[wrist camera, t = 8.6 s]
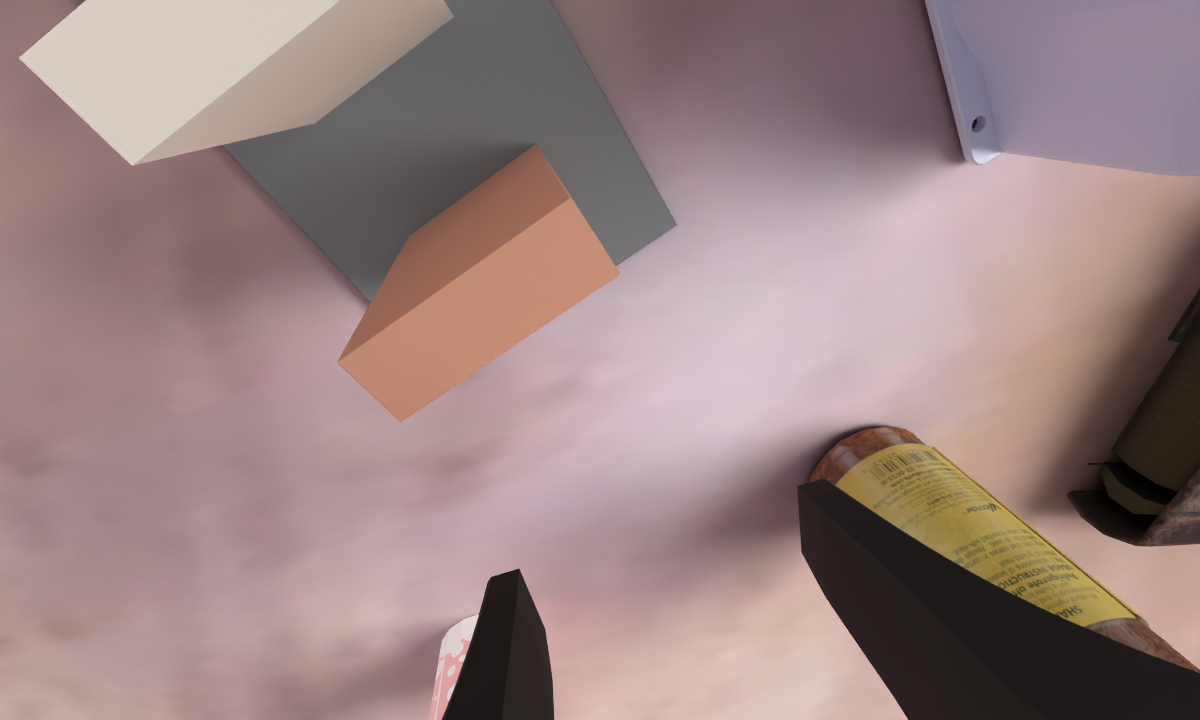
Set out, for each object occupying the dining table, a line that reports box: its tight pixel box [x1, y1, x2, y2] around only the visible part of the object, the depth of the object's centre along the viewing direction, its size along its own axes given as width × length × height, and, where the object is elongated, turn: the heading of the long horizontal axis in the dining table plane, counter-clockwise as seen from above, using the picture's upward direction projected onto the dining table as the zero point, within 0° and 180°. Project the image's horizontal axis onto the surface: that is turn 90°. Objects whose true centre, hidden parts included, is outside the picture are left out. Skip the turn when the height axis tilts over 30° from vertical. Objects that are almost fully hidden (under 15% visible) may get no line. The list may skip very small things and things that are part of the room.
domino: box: [19, 0, 454, 166], centre depth 11 cm, size 2×5×9 cm, turn 123°
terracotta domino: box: [337, 144, 620, 422], centre depth 14 cm, size 2×5×9 cm, turn 123°
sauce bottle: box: [809, 426, 1200, 673], centre depth 18 cm, size 6×6×20 cm
